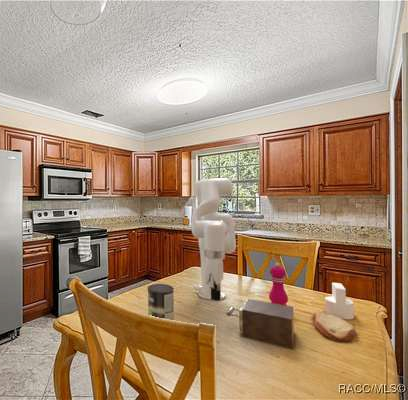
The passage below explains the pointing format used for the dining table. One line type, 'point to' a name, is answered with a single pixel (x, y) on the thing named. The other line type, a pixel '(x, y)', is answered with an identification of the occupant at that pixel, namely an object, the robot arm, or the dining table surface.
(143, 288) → the dining table surface
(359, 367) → the dining table surface
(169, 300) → the coffee can
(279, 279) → the pepper mill
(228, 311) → the drawer
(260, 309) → the cabinet
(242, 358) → the dining table surface
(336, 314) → the white stepped tower
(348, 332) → the slice of bread
